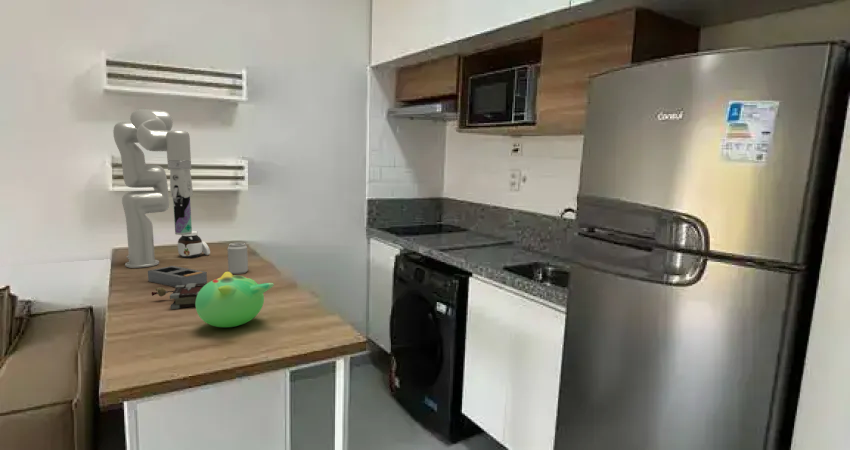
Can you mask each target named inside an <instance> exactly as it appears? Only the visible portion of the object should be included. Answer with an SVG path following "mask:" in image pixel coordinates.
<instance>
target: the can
mask: <svg viewBox="0 0 850 450" xmlns="http://www.w3.org/2000/svg"><path fill="white" fill-rule="evenodd" d="M226 250H227V266H228V267H227V268H228V271H227V272H230V273H231V274H232V275H241V274H246V273H247V272H248V271H249V263H248V262H249V261H248V258H249V257H248V246H247V245H246V243H245V242H231V243H229V244H228V247H227V249H226Z"/></svg>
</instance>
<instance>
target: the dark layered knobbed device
mask: <svg viewBox="0 0 850 450" xmlns="http://www.w3.org/2000/svg"><path fill="white" fill-rule="evenodd" d="M207 283H208V282H207ZM207 283H201V284H196V283H188V284H186V285H176V287H174V288H175V289H174V290H169V291H167V290H166V289H165V288H164V287H155V291H156V292H155V291H151V296H152V297H154V296H155V295H158V296H159V297H164V296H165V295H166V294H168V293H170V295H169V299H170V300H174V301H173V302H172V303H170V310H178V309H181V308H182V309H183V308H184V309H185V308H194V307H195V308H196V306H195V302H196V297H197V295H198V293H199V291H200V290H201V289H202V288H203V287H204V286H205V285H206V284H207Z"/></svg>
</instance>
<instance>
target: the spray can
mask: <svg viewBox="0 0 850 450" xmlns="http://www.w3.org/2000/svg"><path fill="white" fill-rule="evenodd" d="M188 189H189V190H190V188H189V187H188ZM178 197H181V196H178ZM172 203H173V206H174V202H173V201H172ZM183 206H184V215H185V217H183V218H175V217H174V216H173V218H174V220H173V221H174V222H173V223H174V234H175V235H176V236H177V235H179V236H182V235H186V234H192V231H193V228H192V212H191V211H192V210H191V197H190V196H189V197H188V198H184V197H183Z"/></svg>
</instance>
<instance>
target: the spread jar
mask: <svg viewBox="0 0 850 450" xmlns="http://www.w3.org/2000/svg"><path fill="white" fill-rule="evenodd" d="M180 236H181V237H179V239H178V240H177V251H178V255H179V256H180V257H181V258H183V259H195V258H198V257H199V256H201V255H202V254H204V255H205V256H209V255H210V254H211V250H210V247H209V246H208V244H207V243H206V241H204V240H202V238H201V237H200V236H199V235H198V231H196V230H192V234H186V235H180Z"/></svg>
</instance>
